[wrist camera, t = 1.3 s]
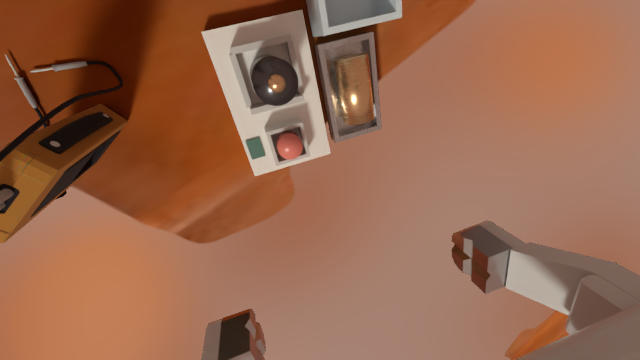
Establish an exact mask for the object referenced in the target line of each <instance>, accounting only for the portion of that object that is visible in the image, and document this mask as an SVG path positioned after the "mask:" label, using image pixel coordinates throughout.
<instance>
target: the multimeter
mask: <svg viewBox="0 0 640 360" xmlns="http://www.w3.org/2000/svg"><path fill="white" fill-rule="evenodd" d="M5 56H6V59H7V61H8V63H9V64H10V66H11V68H12V70H13V71H14V73H15V75H16V77H17V78H14V79H15V80H16V81H17V82H18V84H19V86H20V88H21V89H22V91H23V93H24V95H25V96H26V98H27V100H28V102H29V103H30V104H31V106H32V107H33V108H34V109H35V110H36V112H37V114H38V115H39V117H40V120H38V121H37V122H36V123H35V124H33V125H32V126H31V127H29V128H28V129H27V130H26V131H24V132H23V133H22V134H21V135H20V136H18V137H17V138H16V139H15V140H14V141H13V142H11V143H9V144H7V145H6V146H5V147H4V148H3V149H2V150H1V152H0V243H3V242H6V241H7V240H8V239H9V238H10V237H12V236H13V235H14V234H15V233H16V232H17V231H18V230H20V229H21V228H22V227H23V226H24V225H26V224H27V223H28V222H29V221H30V220H32V219H33V218H34V217H35V216H36V215H37V214H39V213H40V212H41V211H42V210H43V209H44V208H46V206H48V205H49V204H50V203H51V202H52V201H54V200H55V199H58V198H60V197H63V196H64V195H65V194H66V190H67V189H68V188H69V187H70V186H71V185H72V184H74V183H75V182H76V181H77V180H78V179H79V178H81V177H82V176H83V175H84V174H85V173H86V172H88V171H89V170H90V169H91V168H92V167H93V166H94V164H95V163H96V162H97V161H98V159H99V158H100V157H101V155H102V154H103V153H104V152H105V150H106V149H107V148H108V146H109V145H110V144H111V143H112V141H113V140H114V139H115V138H116V136H117V135H118V134H119V132H120V131H121V130H122V129H123V127H124V126H125V125H126V123H127V120H126V119H124V118H123V117H121V116H120V115H118V114H116V113H115V112H113V111H112V110H110V109H109V108H107V107H106V106H104V105H102V104H98V105H96V106H94V107H92V108H89V109H87V110H84V111H82V112H80V113H77V114H75V115H73V116H70V117H68V118H66V119H63V120H61V121H59V122H56V123H54V124H52V125H50V126H47V123H46V122H47V121H48V120H49V119H51V118H52V117H53V116H55V115H56V114H57V113H59V112H60V111H62V110H63V109H65V108H66V107H67V106H69V105H71V104H73V103H74V102H76V101H78V100H81V99H83V98H86V97H90V96H94V95H98V94H103V93H107V92H111V91H115V90H118V89H120V88H121V87H122V85H123V81H122V79H121V78H120V76H119V75H118V74H117V72H116V71H115V70H114V69H113V68H112V67H111V66H110V65H108V64H106V63H104V62H100V61H91V62H86V61H79V62H72V63H65V64H58V65H52V67H50V68H44V69H37V70H32V71H30V72H40V71H47V70H54V71H56V72H57V71H59V70H65V69H72V68H79V67H84V66H87V65H88V64H102V65H105V66H106V67H108V68H109V69H110V70H111V71H112V72H113V73H114V74H115V76H116V77H117V78H118V80H119V81H120V84H119V85H118V86H117V87H114V88H110V89H106V90H101V91H96V92H91V93H86V94H82V95H79V96H76V97H74V98H72V99H70V100H68V101H66V102H64V103H63V104H61V105H60V106H58V107H57V108H55V109H54V110H52V111H51V112H49V113H48V114H47V115H45V116H44V117H43V116H42V114H41V112H40V111H39V109H38V106H37V103H36V101H35V99H34V97H33V95H32V94H31V92H30V90H29V88H28V86H27V85H26V83H25V81H24V78H23V77H20V76H19V75H18V73H17V71H16V69H15V67H14V66H13V64H12V62H11V60H10V59H9V57H8V56H7V55H6V54H5ZM42 125H44V128H43V129H41V130H38V131H36V130H37V129H38V128H39V127H41V126H42ZM34 131H36V132H34ZM33 132H34V133H33Z"/></svg>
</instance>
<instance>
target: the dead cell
mask: <svg viewBox="0 0 640 360" xmlns="http://www.w3.org/2000/svg"><path fill="white" fill-rule="evenodd" d="M250 78H251V81H252V84H253V88H254V90H255V93H256V94H257V96H258V97H259V98H260V99H261V100H262V101H263V102H265V103H267V104H269V105H272V106H281V105H284V104H286V103H288V102H290V101H291V100H292V99H293V98H294V96H295V94H296V92H297V90H298V76H297V73H296V71H295V69H294V68H293V67H292V65H291V64H289V63H288V62H287V61H285V60H283V59H280V58H278V57H275V56H273V55H261V56H259V57H257V58H256V59H255V60H254V61H253V63H252V64H251V67H250Z"/></svg>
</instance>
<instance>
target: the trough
mask: <svg viewBox="0 0 640 360" xmlns="http://www.w3.org/2000/svg"><path fill="white" fill-rule="evenodd" d="M314 50H315V56H316V61H317V66H318V72H319V77H320V82H321V87H322V93H323V98H324V103H325V109H326V114H327V119H328V124H329V130H330V135H331V139H332V140H333V141H334V142H335V143H336V142H339V141H342V140H346V139H349V138H353V137H356V136H360V135H363V134H366V133H370V132H373V131H376V130H380V129H382V128H381V127H382V126H381V114H380V103H379V91H378V79H377V67H376V56H375V44H374V32H366V33H361V34H357V35H353V36H349V37H345V38H341V39H337V40H332V41H328V42H324V43H320V44H316V45H314ZM357 53H368V54H369V65H370V75H371V85H372V96H373V106H374V116H375V117H374V119H373V120H371V121H369V122H367V123H365V124H363V125H361V126H354V125H347V124H344V123H343V118H342V112H341V106H340V100H339V93H338V87H337V81H336V75H335V68H334V62H333V60H334V59H336V58H339V57H343V56H347V55H351V54H357Z"/></svg>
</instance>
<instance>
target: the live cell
mask: <svg viewBox="0 0 640 360" xmlns="http://www.w3.org/2000/svg"><path fill="white" fill-rule="evenodd" d="M333 62H334V68H335V75H336V81H337V87H338V93H339V100H340V106H341V112H342V118H343V123H344V124H347V125H354V126H361V125H363V124H365V123H367V122H369V121H371V120H373V119H374V117H375V116H374V106H373V96H372V85H371V75H370V65H369V54H368V53H357V54H351V55H347V56H343V57H339V58H336V59H334V60H333Z"/></svg>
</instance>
